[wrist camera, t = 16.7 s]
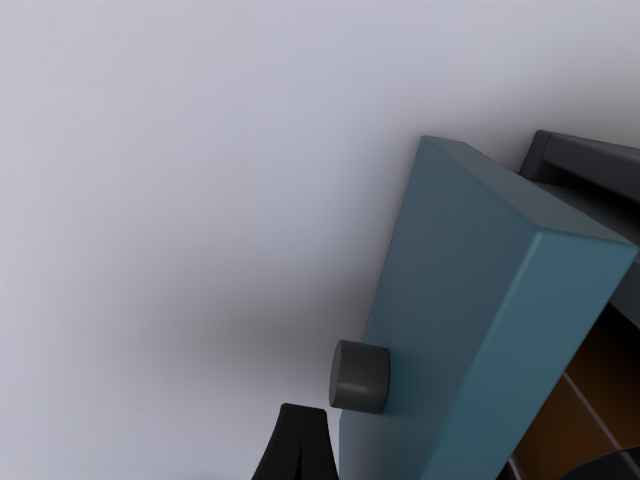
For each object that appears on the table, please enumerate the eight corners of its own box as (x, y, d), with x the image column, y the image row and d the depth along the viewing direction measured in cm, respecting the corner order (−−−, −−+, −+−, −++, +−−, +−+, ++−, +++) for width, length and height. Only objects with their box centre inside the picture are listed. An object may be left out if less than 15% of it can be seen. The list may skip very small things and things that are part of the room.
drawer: (308, 416, 14) (288, 641, 9) (376, 125, 9) (429, 208, 4) (640, 471, 15) (826, 721, 9) (868, 218, 10) (1568, 417, 4)
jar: (438, 389, 12) (498, 586, 7) (499, 278, 10) (630, 451, 5) (563, 417, 12) (695, 625, 8) (645, 315, 10) (885, 509, 6)
